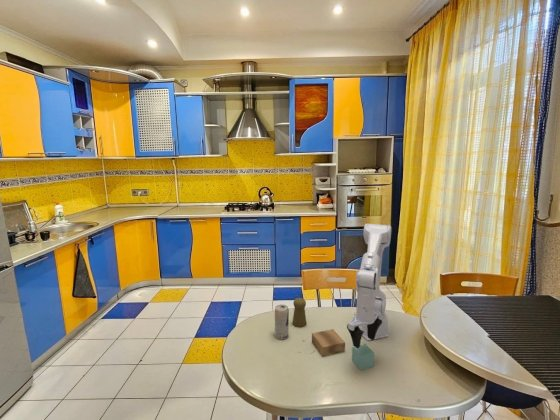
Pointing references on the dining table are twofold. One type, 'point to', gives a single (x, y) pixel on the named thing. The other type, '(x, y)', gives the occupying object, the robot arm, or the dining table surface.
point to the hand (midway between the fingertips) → (363, 342)
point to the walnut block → (328, 342)
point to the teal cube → (363, 357)
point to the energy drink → (281, 321)
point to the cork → (299, 313)
